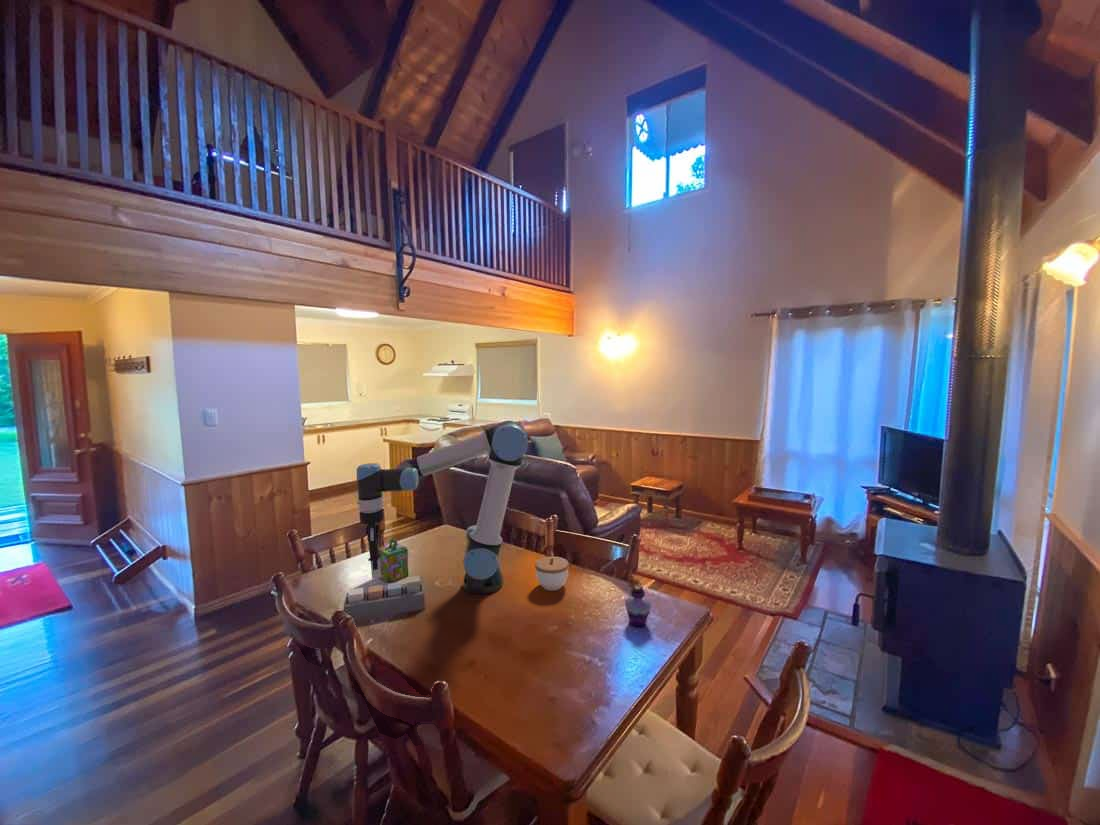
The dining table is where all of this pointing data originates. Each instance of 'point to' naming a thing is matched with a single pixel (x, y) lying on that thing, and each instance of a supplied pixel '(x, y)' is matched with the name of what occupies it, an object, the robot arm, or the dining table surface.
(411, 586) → the sage key
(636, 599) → the potion bottle
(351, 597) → the ivory key
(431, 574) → the dining table surface
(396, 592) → the slate key
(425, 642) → the dining table surface
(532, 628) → the dining table surface
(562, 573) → the lidded bowl
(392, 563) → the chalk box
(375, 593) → the terracotta key
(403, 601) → the console
